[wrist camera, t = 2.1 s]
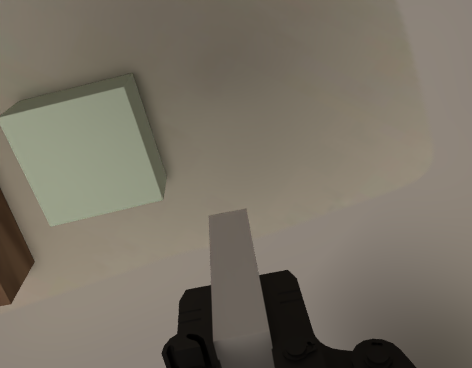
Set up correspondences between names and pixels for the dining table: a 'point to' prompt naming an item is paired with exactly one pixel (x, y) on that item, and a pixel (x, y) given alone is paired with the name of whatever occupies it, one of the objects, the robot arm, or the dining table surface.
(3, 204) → the board
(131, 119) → the block
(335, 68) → the dining table surface
